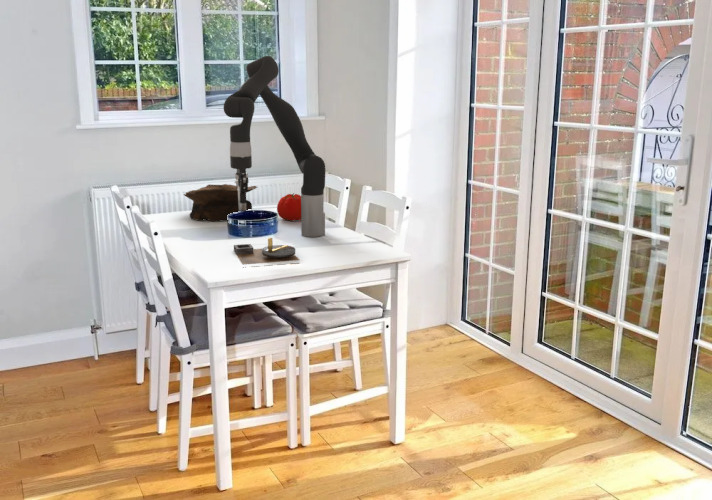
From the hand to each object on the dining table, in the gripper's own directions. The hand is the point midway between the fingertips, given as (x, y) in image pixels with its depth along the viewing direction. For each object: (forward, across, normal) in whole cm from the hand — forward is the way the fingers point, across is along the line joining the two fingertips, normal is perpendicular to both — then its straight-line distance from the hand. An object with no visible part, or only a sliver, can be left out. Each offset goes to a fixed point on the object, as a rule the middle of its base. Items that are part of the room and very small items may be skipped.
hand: (242, 202), depth 256 cm
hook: (+3, 0, 0) cm, 3 cm away
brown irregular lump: (+20, -76, +3) cm, 79 cm away
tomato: (+20, -56, +32) cm, 68 cm away
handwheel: (+18, +10, +11) cm, 23 cm away
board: (+20, +6, +7) cm, 22 cm away
